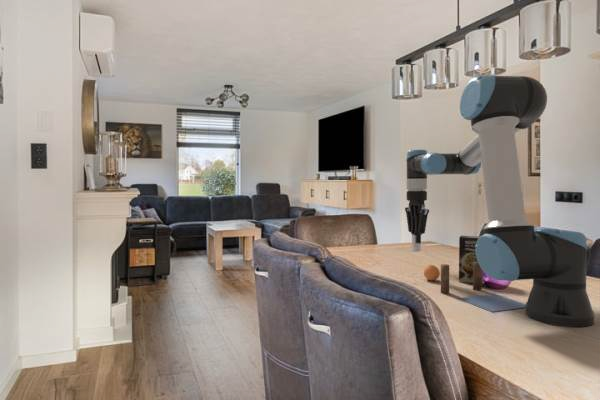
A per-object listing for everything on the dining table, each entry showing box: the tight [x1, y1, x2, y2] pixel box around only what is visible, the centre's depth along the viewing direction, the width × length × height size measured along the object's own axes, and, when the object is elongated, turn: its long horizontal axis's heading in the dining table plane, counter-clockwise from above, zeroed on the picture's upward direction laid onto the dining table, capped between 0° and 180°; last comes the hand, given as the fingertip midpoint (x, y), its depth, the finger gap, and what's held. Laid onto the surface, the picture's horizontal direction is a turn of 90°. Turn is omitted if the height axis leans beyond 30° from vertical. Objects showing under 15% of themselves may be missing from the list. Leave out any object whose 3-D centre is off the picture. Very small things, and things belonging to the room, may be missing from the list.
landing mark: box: [457, 293, 526, 313], centre depth 119 cm, size 14×14×1 cm
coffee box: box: [458, 235, 485, 285], centre depth 146 cm, size 9×6×16 cm
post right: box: [472, 262, 483, 291], centre depth 134 cm, size 3×3×9 cm
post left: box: [440, 263, 450, 295], centre depth 130 cm, size 3×3×9 cm
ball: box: [423, 264, 441, 282], centre depth 148 cm, size 6×6×6 cm
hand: (416, 251), depth 157 cm, fingers closed
